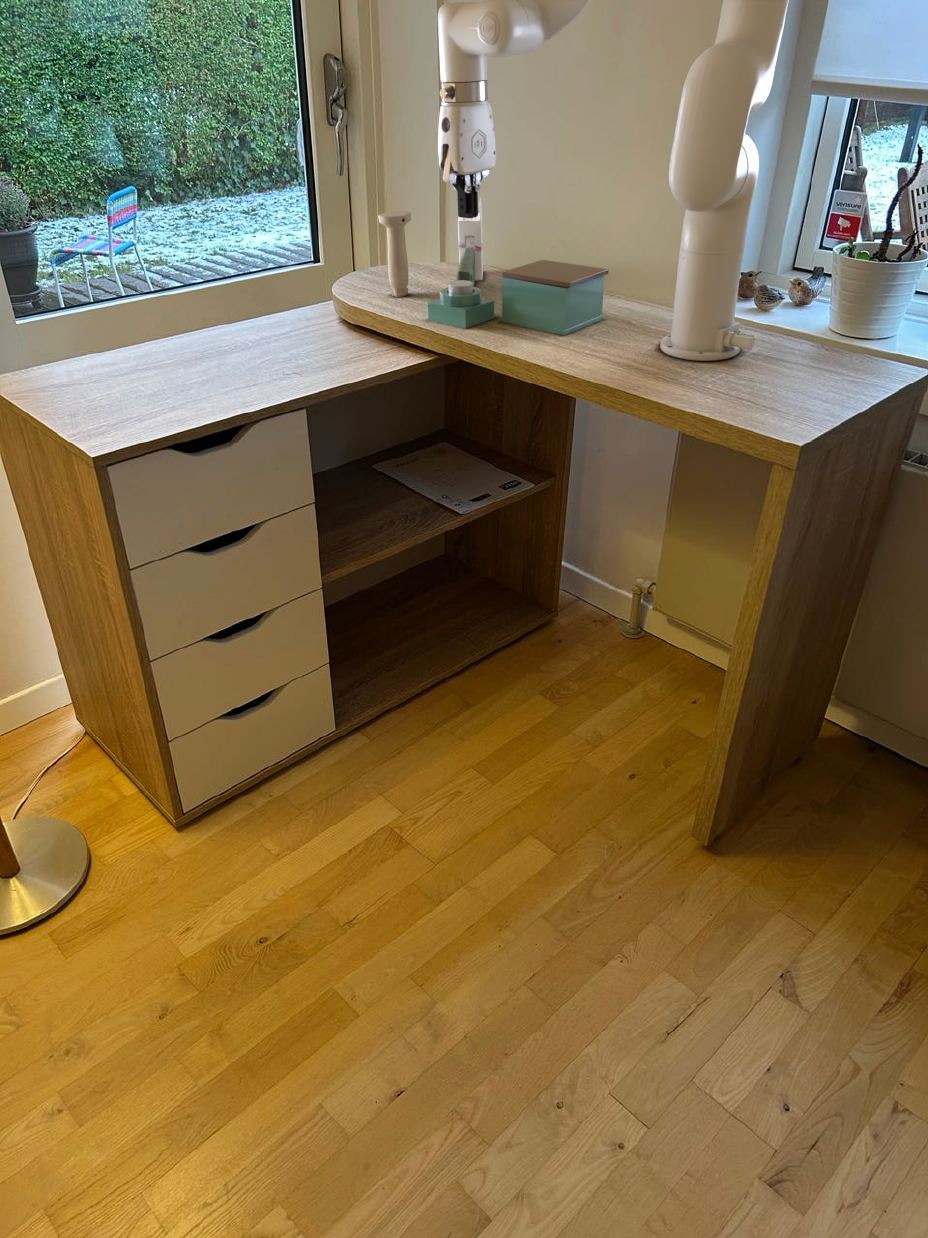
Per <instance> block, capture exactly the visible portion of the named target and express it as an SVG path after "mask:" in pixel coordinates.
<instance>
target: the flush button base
mask: <svg viewBox="0 0 928 1238" xmlns="http://www.w3.org/2000/svg"><path fill="white" fill-rule="evenodd" d="M482 293H483V292H482V289H481V288H479V287H476V286H474V287H473V293H470V294H464V295H454V294H449V293H448V287H445V288H442V289H441V290H440V291H439V298H437V299H434V300H431V301H428V302H427V315H428V317H427V318H428V321H431V322H436V323H440V324H445V325H448V326H452V327H453V326H454V327H456V328H457V327H458V328H462V329H468V328H472V327H473V326H476V325H479V324H482V323H485V322H487V321H491V320H493V319H495V300H494V299H490V298H483V295H482Z"/></svg>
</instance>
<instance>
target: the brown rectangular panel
mask: <svg viewBox="0 0 928 1238" xmlns="http://www.w3.org/2000/svg"><path fill="white" fill-rule="evenodd" d="M607 275H609V268H602V267H595V266H589V265H582V264H576V263H568V262H561V261H554V260H547V259H540V260H536V261H534V262H530V263H527V264H524V265H521V266H517V267H514V268H512V269H508V270H505V271H502V277H507V278H513V279H519V280H525V281H531V282H538V283H544V284H550V285H556V286H562V287H568V288H570V287H573V286H576V285H579V284H582V283H584V282H587V281H590V280H593V279H596V278H598V277H601V276H604V277H605V276H607Z"/></svg>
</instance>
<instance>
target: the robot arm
mask: <svg viewBox="0 0 928 1238" xmlns="http://www.w3.org/2000/svg"><path fill="white" fill-rule="evenodd" d="M591 1H592V0H481V1H453V2H447V3H444V4H441V6H439V9H438V11H437V30H438V56H439V77H440V79H439V80H440V90H439V97H440V99H441V100H440V101H441V102H440V103H441V105H440V106H439V107H440V108H439V117H438V134H437V135H438V136H437V137H438V138H437V151H438V164H439V169H440V171H441V173H443V175H442V181H443V182H444V183H447V184H451V185H452V186H453V190H454V192H455V193H457V194H456V195H457V196H456V197H457V216H458V218H459V217H462V218H474V217H478V213H479V196H478V194H479V193H478V192H479V191H480V190H481V183H482V180H483V179H484V178H486V177H487V176H489V175H490V170H492V169H494V167H495V166H496V164H497V145H496V144H497V143H496V132H495V131H496V130H495V122H494V114H493V109H492V105H491V102H489V97H488V95H489V93H488V91H489V90H488V89H489V88H488V58H506V57H507V58H508V57H513V56H525V55H528V54H532V53H533V52H536V51H537V50H538V49H540V48H542V47H543V46H544V45H545V44H547V43H548V42H549V41H551V40H552V39H554V38H555V36H557V35H559V33H561V32H563V30H564V29H566V28H567V27H568V26H569V25H570V24H571V23H572V22H573V21H575V19H576V18H578V16H580V14H581V13H582V12H583V11H584V9H585V8H586V7H587V6H588V5H589V4H590V3H591ZM789 2H790V0H722V4H721V9H720V16H719V22H718V27H717V32H716V37H715V41H714V44H713V45H712V46H709V48H706V49H705V50H704V51H703V52H701V54H700V55H699V56H698V57H697V58H696V59H695V60H694V62H693V63H692V65H691V66H690V68H689V70H688V72H687V75H686V78H685V81H684V83H683V85H682V86H683V87H682V91H681V96H680V100H679V105H678V113H677V118H676V124H675V129H674V135H673V140H672V147H671V152H670V157H669V166H668V184H669V185H668V186H669V189H670V192H671V195H672V196H673V198H674V201H676V203H677V204H678V205H680V207H682V208H683V209H685V211H684V216H683V222H682V227H681V228H682V230H681V236H680V246H679V254H678V265H677V274H676V282H675V283H676V284H675V291H674V292H675V294H674V301H673V302H674V303H673V312H672V313H673V314H672V323H671V332H670V334H667V335H665V336H663V337H662V338H661V340H660V345H659V346H660V347H659V348H660V350H661V351H662V352H663V353H665V354H666V355H668V356H671V357H674V358H678V359H683V360H688V361H700V362H710V361H711V362H712V361H720V360H726V359H730V358H732V357H735V356H737V355H738V354H739V353H740V351H741V350H745V351H752V350H753V348H754V346H755V342H756V341H755V340H756V339H755V335H754V333H753V334H752V333H748V332H742V331H741V330H740V325H741V322H740V321H736V320H735V316H736V309H737V301H738V296H739V288H740V281H741V280H740V279H741V273H742V267H743V260H744V250H745V247H746V238H747V232H748V225H749V219H750V214H751V210H752V204H753V200H754V196H755V192H756V187H757V183H758V177H759V171H760V159H759V152H758V149H757V146H756V144H755V143H754V141H753V139H751V137H750V136H749V135H748V134H746V131H747V126H748V122H749V117H750V116H751V115H753V114H754V113H755V112H757V111H758V110H759V109H761V107H762V106H763V105H764V103H765V102H766V101H767V98H768V97H769V95H770V92H771V90H772V89H771V88H772V85H773V80H774V75H775V68H776V64H777V59H778V54H779V50H780V46H781V40H782V36H783V32H784V26H785V22H786V17H787V12H788V6H789Z"/></svg>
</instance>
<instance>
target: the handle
mask: <svg viewBox="0 0 928 1238" xmlns="http://www.w3.org/2000/svg"><path fill="white" fill-rule="evenodd" d="M377 217H378V221H379V224H381V225H383V226H384V227H386V234H387V235H386V236H387V237H386V238H387V239H386V240H387V272H388V273H387V274H388V280H389V286H390V288H391V289H390V292H391V296H392V297H395V298H400V297H402V298H403V297H406V296H407V295H408V293H409V287H408V286H409V260H408V252H407V243H406V232H405V231H406V228H405V227H406V226H407V224H409V223H410V221H411V220H412V212H411V211H407V210H396V211H388V212H383V213H380V214H378V216H377Z"/></svg>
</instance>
